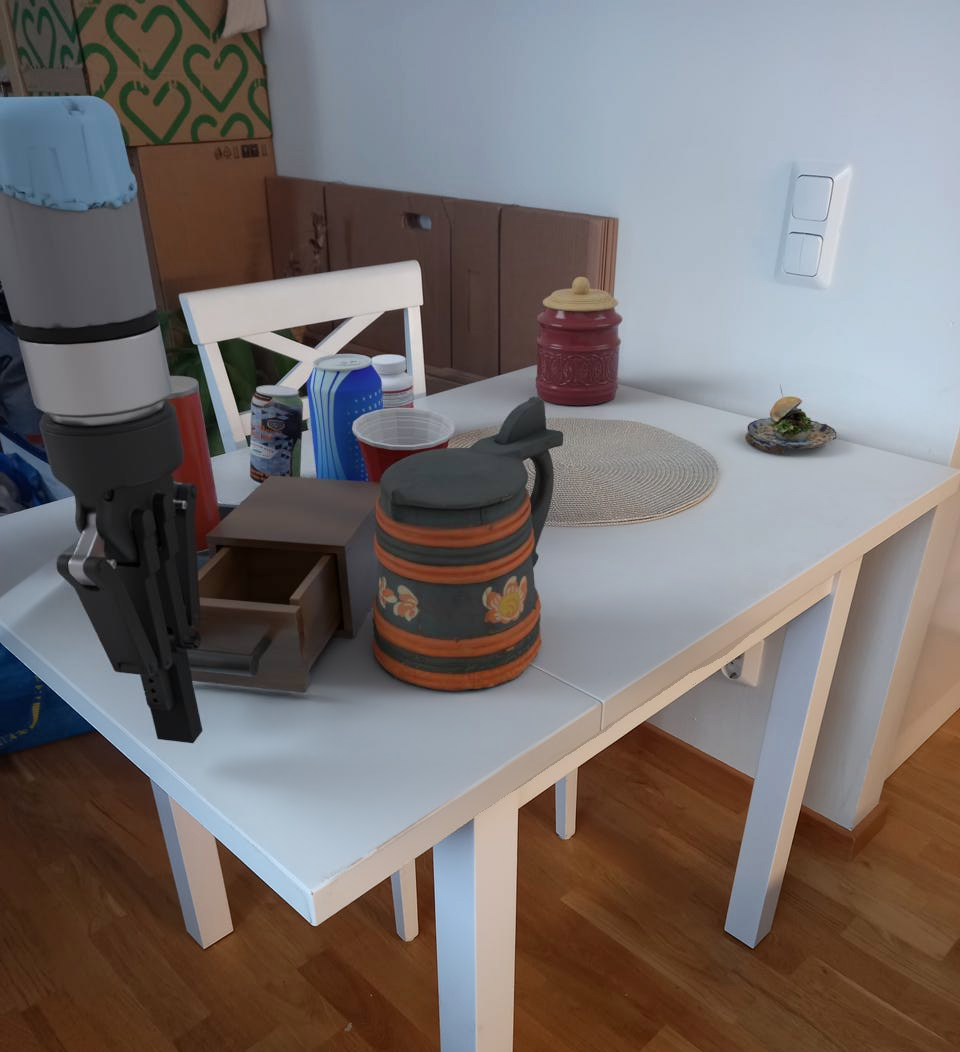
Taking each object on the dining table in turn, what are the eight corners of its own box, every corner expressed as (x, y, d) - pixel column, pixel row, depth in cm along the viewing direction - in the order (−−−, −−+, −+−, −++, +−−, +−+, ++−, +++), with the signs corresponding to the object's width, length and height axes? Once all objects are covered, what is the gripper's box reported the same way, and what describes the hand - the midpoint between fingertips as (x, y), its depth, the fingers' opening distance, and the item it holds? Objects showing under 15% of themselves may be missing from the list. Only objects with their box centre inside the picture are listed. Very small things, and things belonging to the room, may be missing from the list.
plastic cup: (393, 557, 96) (385, 446, 90) (342, 523, 104) (332, 419, 98) (477, 531, 102) (475, 425, 96) (423, 501, 109) (418, 400, 103)
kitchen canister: (627, 404, 141) (636, 283, 132) (543, 409, 140) (547, 286, 131) (605, 382, 152) (612, 268, 143) (528, 385, 151) (530, 271, 142)
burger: (782, 463, 119) (792, 405, 115) (726, 436, 128) (733, 382, 124) (855, 449, 123) (866, 393, 119) (795, 424, 132) (804, 371, 129)
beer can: (360, 514, 106) (348, 374, 98) (304, 500, 110) (288, 364, 102) (402, 490, 112) (395, 357, 104) (348, 478, 116) (336, 348, 108)
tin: (150, 556, 96) (114, 392, 87) (179, 530, 101) (148, 374, 92) (208, 560, 94) (178, 395, 86) (234, 534, 100) (209, 377, 91)
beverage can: (243, 484, 115) (228, 388, 108) (294, 470, 119) (283, 377, 113) (267, 499, 111) (254, 399, 104) (320, 484, 115) (310, 387, 108)
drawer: (286, 724, 70) (273, 642, 66) (147, 709, 72) (128, 628, 68) (357, 611, 85) (350, 539, 81) (241, 601, 87) (229, 530, 83)
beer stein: (477, 575, 93) (475, 375, 82) (601, 620, 85) (615, 405, 74) (338, 653, 80) (315, 429, 70) (468, 715, 72) (463, 471, 62)
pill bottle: (371, 432, 132) (366, 353, 126) (414, 431, 132) (411, 352, 126) (370, 446, 126) (364, 365, 121) (415, 445, 127) (411, 363, 121)
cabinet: (353, 638, 82) (344, 546, 78) (221, 626, 84) (205, 535, 80) (397, 566, 95) (391, 482, 90) (281, 557, 97) (270, 475, 92)
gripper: (107, 373, 59) (175, 680, 71) (-26, 438, 48) (80, 787, 61) (216, 377, 58) (266, 689, 70) (104, 446, 47) (186, 801, 59)
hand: (180, 734), depth 65 cm, fingers closed
